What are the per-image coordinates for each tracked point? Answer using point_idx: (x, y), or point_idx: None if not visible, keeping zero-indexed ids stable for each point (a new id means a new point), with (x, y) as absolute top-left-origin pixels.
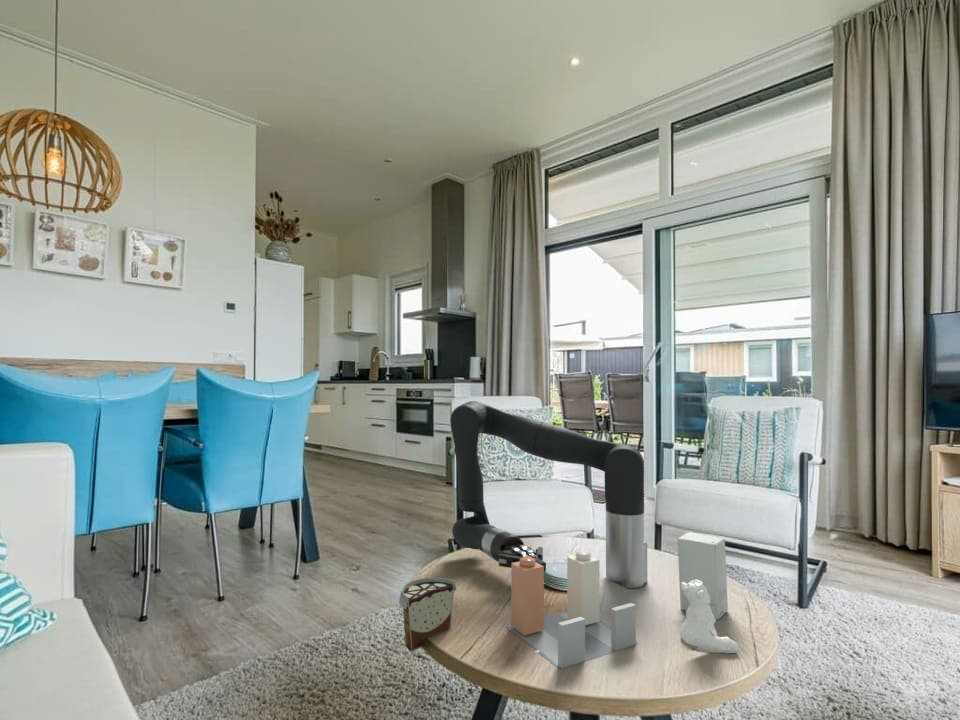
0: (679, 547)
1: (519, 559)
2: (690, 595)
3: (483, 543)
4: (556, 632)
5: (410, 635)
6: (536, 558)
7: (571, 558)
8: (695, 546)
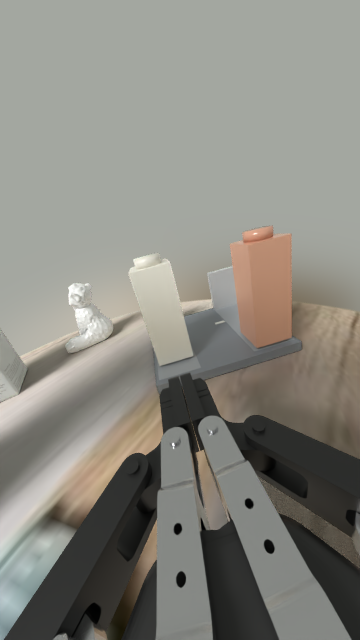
0: None
1: (268, 421)
2: (90, 292)
3: None
4: (223, 335)
5: None
6: (179, 415)
7: (167, 261)
8: None
